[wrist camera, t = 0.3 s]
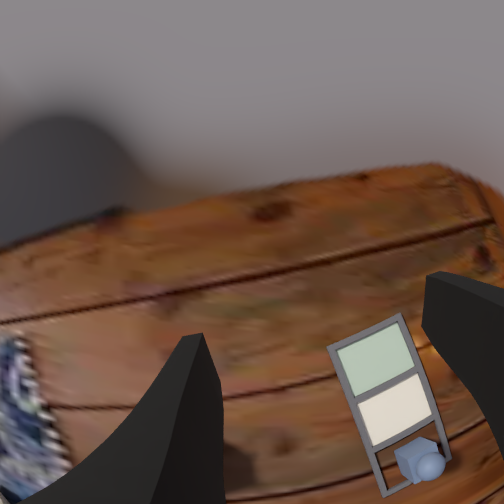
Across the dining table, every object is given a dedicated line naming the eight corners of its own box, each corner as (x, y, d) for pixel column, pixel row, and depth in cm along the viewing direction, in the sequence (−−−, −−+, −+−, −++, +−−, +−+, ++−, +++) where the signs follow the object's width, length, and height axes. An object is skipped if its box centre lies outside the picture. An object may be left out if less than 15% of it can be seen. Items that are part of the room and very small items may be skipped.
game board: (450, 458, 28) (452, 458, 27) (382, 496, 27) (383, 498, 27) (399, 313, 37) (400, 312, 36) (326, 346, 37) (326, 346, 36)
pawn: (426, 459, 29) (455, 473, 21) (401, 473, 28) (425, 492, 21) (419, 436, 30) (448, 447, 23) (393, 451, 30) (417, 466, 22)
